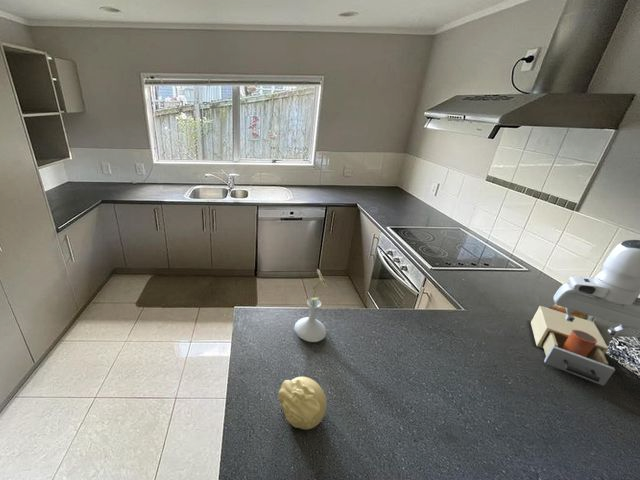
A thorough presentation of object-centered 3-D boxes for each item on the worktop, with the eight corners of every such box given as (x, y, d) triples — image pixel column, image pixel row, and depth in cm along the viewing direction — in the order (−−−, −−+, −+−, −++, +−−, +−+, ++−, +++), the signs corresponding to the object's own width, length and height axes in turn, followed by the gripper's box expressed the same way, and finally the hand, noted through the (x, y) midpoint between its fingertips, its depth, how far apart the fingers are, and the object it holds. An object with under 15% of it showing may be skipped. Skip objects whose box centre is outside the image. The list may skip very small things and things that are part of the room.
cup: (579, 357, 94) (594, 334, 90) (583, 368, 90) (599, 345, 86) (556, 349, 97) (570, 327, 94) (559, 359, 93) (574, 336, 89)
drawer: (608, 396, 83) (620, 380, 80) (546, 371, 90) (556, 356, 87) (589, 355, 97) (599, 341, 94) (537, 337, 104) (545, 323, 101)
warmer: (595, 368, 93) (608, 348, 90) (536, 346, 101) (546, 327, 98) (582, 340, 105) (593, 322, 101) (530, 322, 113) (539, 305, 109)
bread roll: (577, 323, 118) (582, 305, 118) (591, 329, 109) (597, 309, 109) (546, 314, 123) (551, 297, 123) (557, 318, 114) (562, 300, 114)
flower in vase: (323, 349, 96) (334, 288, 86) (291, 339, 99) (298, 280, 90) (327, 323, 107) (337, 268, 98) (298, 316, 111) (304, 261, 101)
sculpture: (270, 413, 75) (273, 385, 71) (297, 385, 83) (301, 359, 79) (305, 448, 67) (310, 419, 63) (331, 414, 75) (337, 386, 71)
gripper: (662, 300, 80) (635, 337, 85) (563, 274, 91) (544, 308, 96) (674, 311, 75) (644, 349, 81) (568, 282, 86) (548, 318, 92)
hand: (589, 326), depth 89 cm, fingers open, 8 cm apart
